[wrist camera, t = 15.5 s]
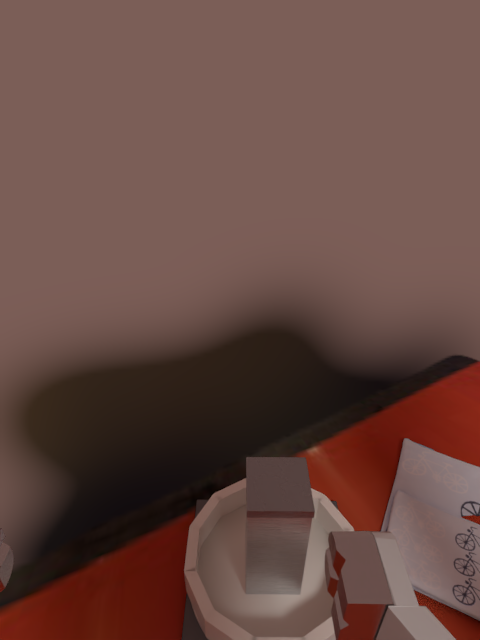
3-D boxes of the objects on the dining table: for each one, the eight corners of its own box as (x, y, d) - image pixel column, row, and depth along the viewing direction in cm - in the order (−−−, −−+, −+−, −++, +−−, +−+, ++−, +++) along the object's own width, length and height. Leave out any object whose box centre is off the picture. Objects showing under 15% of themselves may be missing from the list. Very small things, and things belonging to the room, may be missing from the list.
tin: (294, 540, 42) (305, 457, 36) (301, 595, 37) (314, 511, 31) (244, 540, 42) (246, 457, 36) (244, 595, 37) (246, 510, 31)
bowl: (336, 501, 47) (340, 477, 45) (375, 676, 33) (384, 653, 31) (196, 499, 47) (195, 476, 45) (177, 674, 33) (174, 651, 31)
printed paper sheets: (367, 574, 41) (371, 562, 40) (402, 441, 56) (406, 429, 55) (602, 691, 33) (614, 680, 32) (568, 500, 49) (576, 488, 48)
